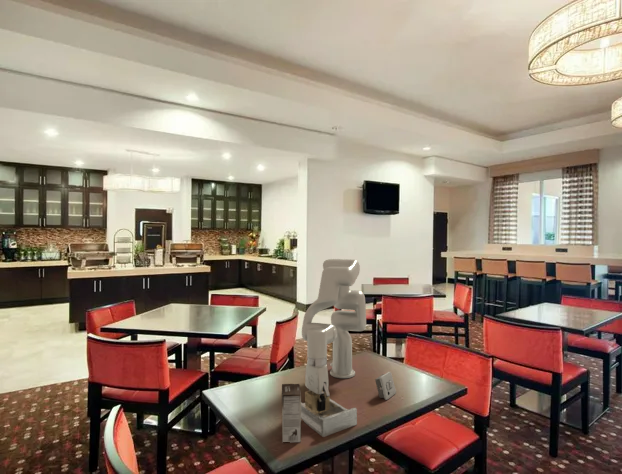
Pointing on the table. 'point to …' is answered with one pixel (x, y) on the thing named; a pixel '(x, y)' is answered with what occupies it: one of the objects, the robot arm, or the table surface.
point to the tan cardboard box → (315, 401)
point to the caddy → (329, 418)
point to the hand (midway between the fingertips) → (317, 407)
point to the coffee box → (291, 413)
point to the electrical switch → (385, 386)
